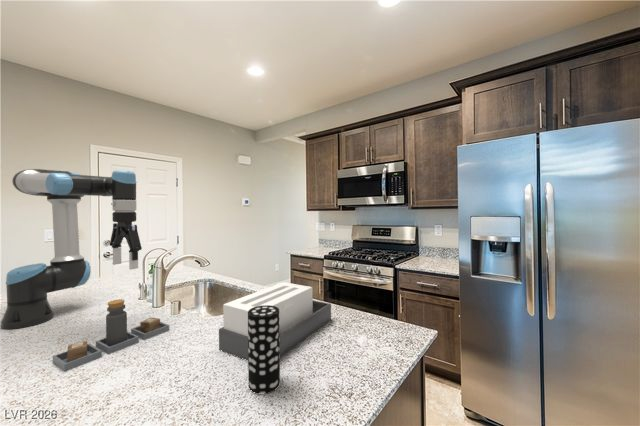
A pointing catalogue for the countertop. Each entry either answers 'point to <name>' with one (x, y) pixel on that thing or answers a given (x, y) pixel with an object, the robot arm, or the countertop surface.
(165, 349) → the countertop surface
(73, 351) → the cube
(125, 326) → the bottle
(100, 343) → the dish
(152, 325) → the cube
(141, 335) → the dish
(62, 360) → the dish
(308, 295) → the toaster
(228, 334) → the toaster caddy
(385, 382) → the countertop surface
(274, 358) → the spotted tube
